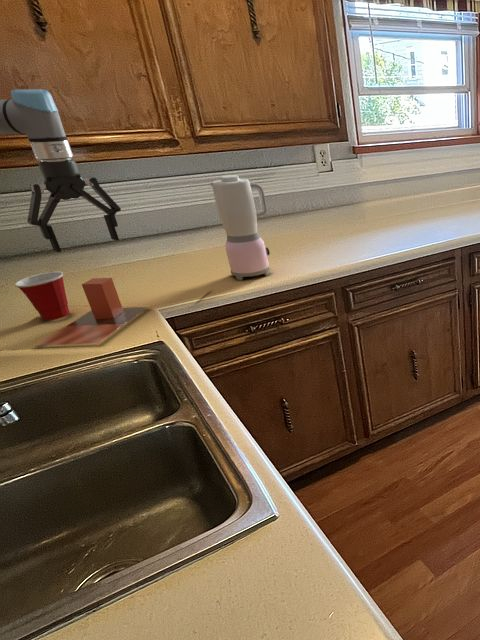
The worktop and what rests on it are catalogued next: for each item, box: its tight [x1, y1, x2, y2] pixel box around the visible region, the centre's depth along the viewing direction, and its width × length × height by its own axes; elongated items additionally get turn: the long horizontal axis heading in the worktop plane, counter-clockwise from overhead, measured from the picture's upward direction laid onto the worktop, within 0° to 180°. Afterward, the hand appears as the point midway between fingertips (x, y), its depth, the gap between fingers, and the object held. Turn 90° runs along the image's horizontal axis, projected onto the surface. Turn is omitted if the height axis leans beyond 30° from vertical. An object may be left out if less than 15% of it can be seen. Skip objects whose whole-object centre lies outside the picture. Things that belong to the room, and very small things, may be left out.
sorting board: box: [35, 306, 148, 349], centre depth 138 cm, size 15×24×1 cm, turn 4°
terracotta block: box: [81, 277, 124, 319], centre depth 141 cm, size 5×5×10 cm
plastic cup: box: [14, 271, 70, 321], centre depth 142 cm, size 11×11×12 cm
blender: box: [208, 174, 271, 281], centre depth 170 cm, size 16×12×32 cm
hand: (87, 245), depth 137 cm, fingers open, 13 cm apart
